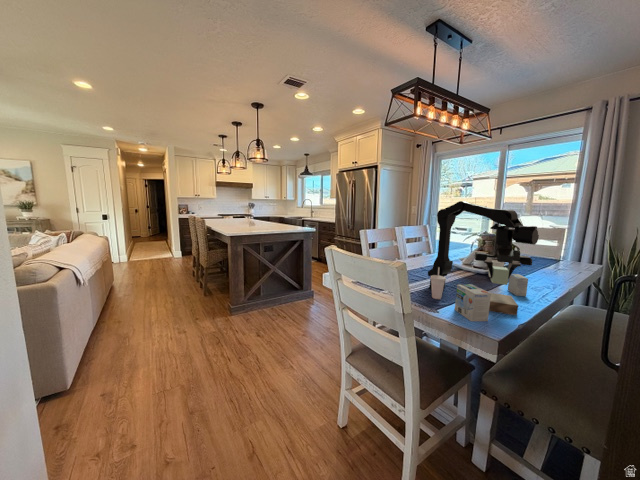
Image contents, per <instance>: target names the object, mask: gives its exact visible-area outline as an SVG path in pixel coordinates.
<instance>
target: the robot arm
mask: <svg viewBox="0 0 640 480" xmlns="http://www.w3.org/2000/svg"><path fill="white" fill-rule="evenodd" d="M463 212H467V213H471V214H474V215H477V216H478V215H479V216H481V217H486V218H488V220H491V221H492V222H495V224H494V225H492V226H491V227H490V229H491V230H495V238H494V245H493V247H494V249H493V254H487V253H486V252H485V251H484V252H482V251H476V252H474V256H473V258H474V260H475V261H477V262H478V261H479V262H480V261H481V262H483V263H484V264H486V266H487V269H488V274H489V273H490V277H489V278H490V279H491V278H492V276H493V262H492V260H497V261H498V262H505V263H507V264H508V265H507V269H508V270H509V276H508V280H509V277H510V276H511V274H513V272H514V271H515V270H516V269H517V268H518V267H521V266H522V265H525V266H533V259H532V257H530V256H528V255H522V254H521V250H517V249H516V250H513V241H514V242H515V243H517V244H526V245H534V246H535V245H536V244H537V243H538V241H539V236H540V235H539V231H538V226H536V225H531V226H530V225H529V226H528V225H523V223H522V222H521V221H520V219H519V218H518V217H519V215H518V213H517V212H516V211H515V210H513V209H504V208H492V207H487V206H483V205H479V204H476V203H473V202H472V203H471V202H468V201H464V200H459V201H457V202H455V203H454V204H452V205H450V206H447V207H445V208H441V209H439V210H438V211H437V213H436V221H437V224H438V227H439V232H438V233H439V234H438V235H439V236H438V247H437V256H436V258H435V260H434V261H433V266H432V268H431V269H429V270H428V271H427V275H428V277H430V278H431V276H432V275H438V267H440V270H439V276H443V277H447V276H448V274H449V273H451V271H452V269H453V263H454V261H453V260H451V259H450V257H449V255H450V253H449V252H450V244H451V232H452V231H451V230H452V227H453V225H454V224H455V221H456V218H457V217H458V216H459V215H461V214H462V213H463ZM445 288H446V282H445V283H444V287H443V291H444V289H445ZM428 289H431V290H432V286H431V279H430V280H429V288H428Z"/></svg>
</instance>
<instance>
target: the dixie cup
mask: <svg viewBox="0 0 640 480" xmlns="http://www.w3.org/2000/svg"><path fill="white" fill-rule="evenodd" d="M492 262H493V266H495V267H504V265H505V264H506V262H498V261H497V260H492ZM488 277H489V278H491V277H490V273H489V272H488Z"/></svg>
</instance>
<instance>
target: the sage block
mask: <svg viewBox="0 0 640 480" xmlns="http://www.w3.org/2000/svg"><path fill="white" fill-rule="evenodd" d="M508 276H509V270H508V267H504V266H503V267H495V266H493V276H492V278H491V277H490V281H491V283H492V284H498V285H505V286H508V283H509V279H508Z"/></svg>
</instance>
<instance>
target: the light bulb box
mask: <svg viewBox="0 0 640 480" xmlns="http://www.w3.org/2000/svg"><path fill="white" fill-rule="evenodd" d="M491 293H492V292H489V291H487V290H485V289H483V288H481V287H479V286H477V285H474V284H470V283H469V284H457V285H456V294H455V304H454V310H455V312H457V313H459V314H460V315H461V316H463V317H464V318H465V319H467V320H469V321H470V322H488V321H489V315H490V314H489V313H490V311H489V307H490V299H491Z"/></svg>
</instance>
